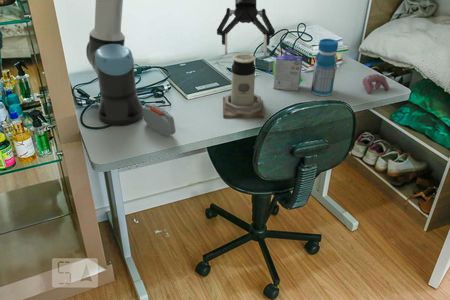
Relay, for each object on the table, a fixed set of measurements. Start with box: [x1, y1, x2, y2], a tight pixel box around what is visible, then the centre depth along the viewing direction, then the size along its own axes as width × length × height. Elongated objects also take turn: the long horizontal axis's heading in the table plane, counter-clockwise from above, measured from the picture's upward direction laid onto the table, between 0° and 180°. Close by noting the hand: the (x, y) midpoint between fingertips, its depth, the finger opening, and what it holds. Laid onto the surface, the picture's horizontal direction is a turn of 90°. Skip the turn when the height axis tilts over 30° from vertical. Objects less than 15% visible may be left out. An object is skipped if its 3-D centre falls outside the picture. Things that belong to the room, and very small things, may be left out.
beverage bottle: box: [310, 38, 339, 97], centre depth 165 cm, size 8×8×20 cm
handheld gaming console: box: [142, 103, 176, 137], centre depth 142 cm, size 14×3×8 cm, turn 45°
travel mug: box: [230, 53, 256, 106], centre depth 153 cm, size 8×8×18 cm
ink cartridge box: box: [273, 49, 303, 92], centre depth 170 cm, size 10×6×14 cm, turn 78°
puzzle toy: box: [272, 58, 276, 77], centre depth 182 cm, size 6×6×6 cm
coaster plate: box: [222, 93, 265, 119], centre depth 158 cm, size 14×14×4 cm
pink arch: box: [362, 73, 390, 94], centre depth 172 cm, size 10×5×7 cm, turn 110°
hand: (245, 53), depth 154 cm, fingers open, 13 cm apart
